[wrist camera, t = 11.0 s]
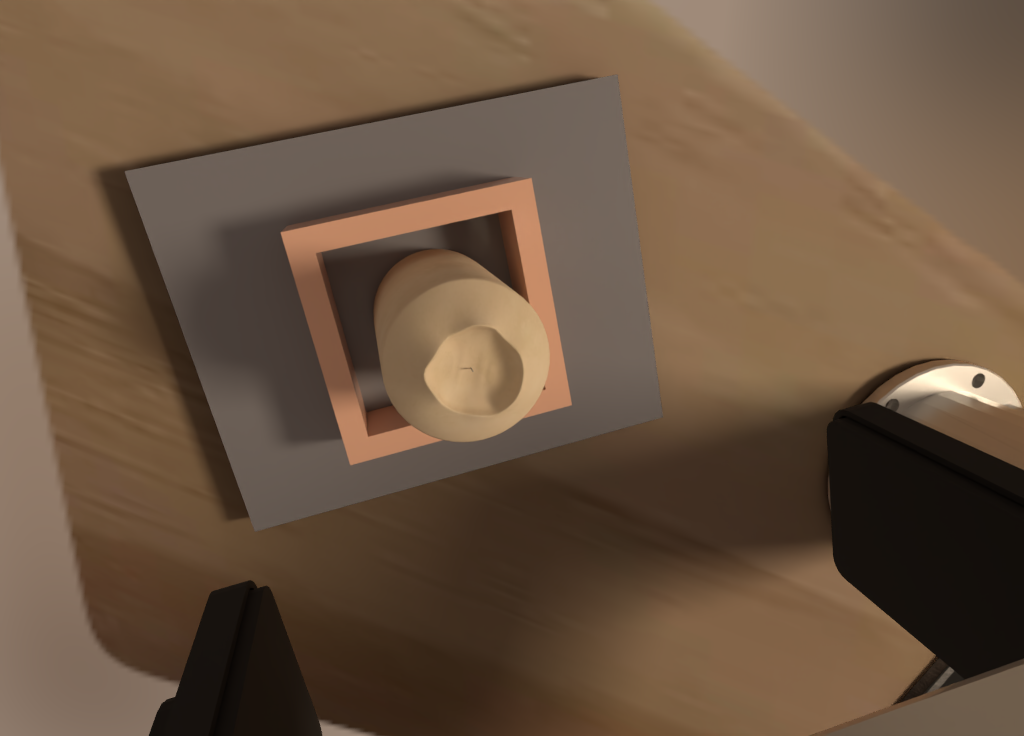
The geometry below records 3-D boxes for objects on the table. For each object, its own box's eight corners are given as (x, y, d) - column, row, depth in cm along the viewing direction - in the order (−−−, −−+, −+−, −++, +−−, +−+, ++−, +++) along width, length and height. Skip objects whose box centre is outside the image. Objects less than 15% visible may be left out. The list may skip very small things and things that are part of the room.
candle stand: (604, 78, 31) (645, 64, 26) (650, 407, 36) (690, 439, 31) (136, 170, 28) (97, 172, 23) (259, 516, 33) (245, 568, 28)
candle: (363, 361, 30) (369, 449, 21) (384, 236, 29) (400, 270, 20) (484, 378, 32) (541, 468, 22) (509, 260, 30) (581, 302, 21)
